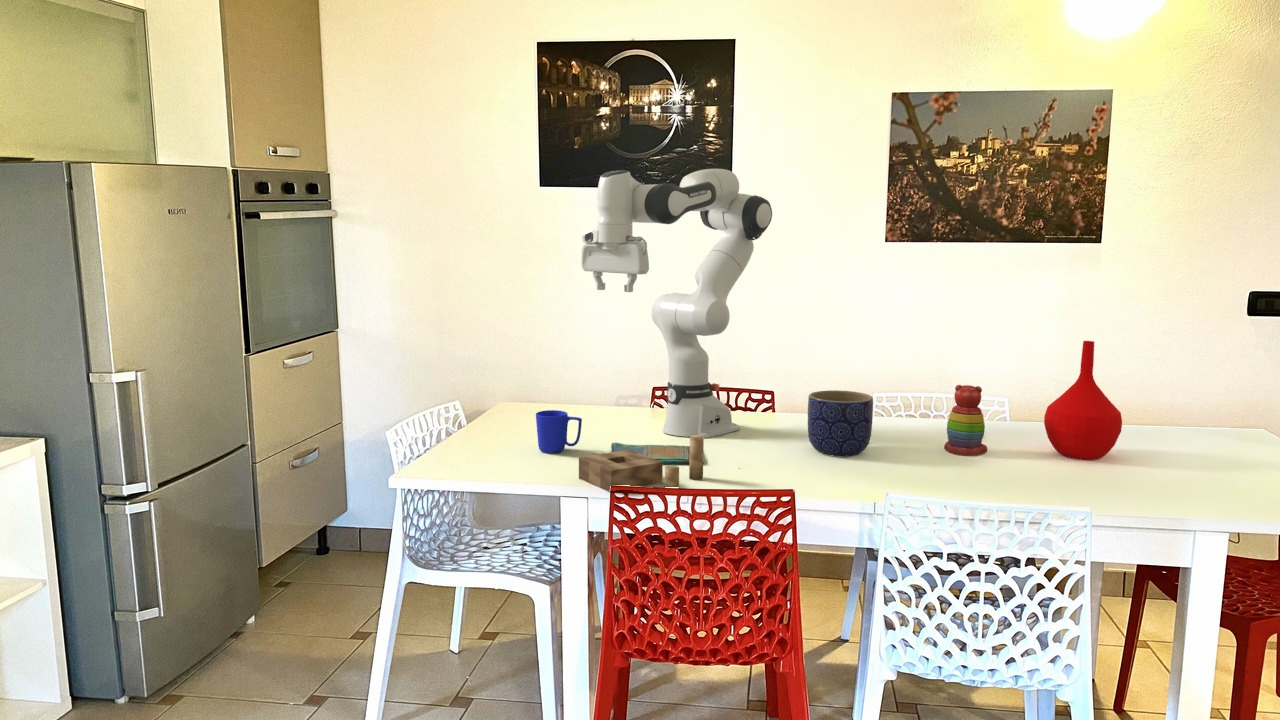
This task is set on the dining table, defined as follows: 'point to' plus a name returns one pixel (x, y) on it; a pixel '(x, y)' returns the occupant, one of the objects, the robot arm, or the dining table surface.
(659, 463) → the hole block
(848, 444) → the planter
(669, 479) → the short dowel
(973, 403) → the stacking bear
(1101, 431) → the vase
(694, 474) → the long dowel
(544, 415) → the mug
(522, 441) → the dining table surface
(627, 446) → the dish towel
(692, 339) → the robot arm
